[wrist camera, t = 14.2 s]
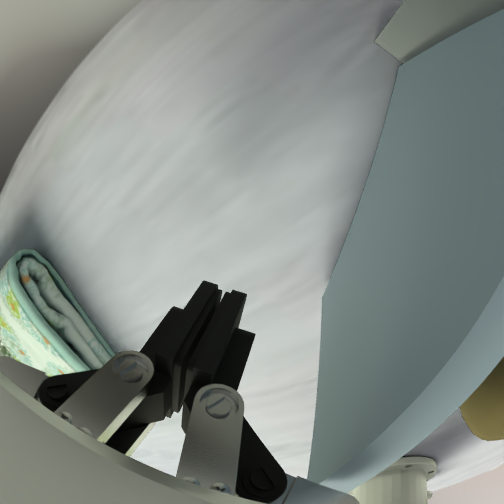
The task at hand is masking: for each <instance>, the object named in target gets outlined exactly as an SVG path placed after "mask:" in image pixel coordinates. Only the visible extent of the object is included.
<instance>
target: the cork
mask: <svg viewBox="0 0 504 504" xmlns="http://www.w3.org/2000/svg"><path fill="white" fill-rule="evenodd" d="M460 409H461V413H462V417H463V419H464V420H465V422H466V424H467V425H468V427H469V429H470V430H471V432H472V433H473V434H474V435H476V436H477V437H479V438H480V439H483V440H487V441H494V440H502V439H504V357H503V358H502V359H501V360H500V362H499V363H498V364H497V365H496V367H495V368H494V369H493V370H492V372H491V373H490V374H489V375H488V376H487V377H486V379H485V380H484V381H483V382H482V383H481V384H480V385H479V387H478V388H477V389H476V390H475V391H474V392H473V393H472V394H471V395H470V396H469V397H468V399H467V400H466V401H465V402H464V403H463V404H462V405H461V406H460Z"/></svg>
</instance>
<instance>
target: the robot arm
mask: <svg viewBox="0 0 504 504" xmlns="http://www.w3.org/2000/svg"><path fill="white" fill-rule="evenodd" d="M221 295H222V290H219V289H218V285H217V284H213V283H210V282H207V281H203V282H202V283H201V285H200V286H199V288H198V289H197V290H196V292H195V293H194V295H193V296H192V298H191V299H190V301H189V302H188V304H187V305H186V307H185V308H184V310H183V309H180V308H177V307H175V306H174V307H172V308H171V309H170V311H169V312H168V313H167V315H166V316H165V317H164V319H163V320H162V321H161V323H160V324H159V326H158V327H157V328H156V330H155V331H154V332H153V334H152V335H151V337H150V338H149V339H148V341H147V342H146V344H145V345H144V346H143V348H142V349H141V351H140V352H137V351H123V352H120V353H117V354H116V355H115V356H113V357H112V358H111V359H110V360H109V361H108V362H107V363H106V364H104V365H103V366H102V367H101V368H99V369H94V370H87V371H81V372H75V373H68V374H61V375H55V376H51V377H50V376H47V374H46V372H43V371H40V370H38V369H36V368H33V367H31V366H28V365H26V364H24V363H21V362H19V361H17V360H15V359H12V358H10V357H7V356H0V504H427V499H430V498H431V497H432V492H431V491H427V484H426V481H428V480H429V479H431V478H432V477H433V476H434V475H435V473H436V471H437V467H436V462H435V461H434V460H433V459H430V458H427V457H403V458H400V459H398V460H397V461H396V462H394V463H393V464H392V465H390V466H389V467H387V468H386V469H385V470H383V471H382V472H380V473H379V474H377V475H376V476H374V477H373V478H371V479H370V480H368V481H366V482H365V483H363V484H362V485H360V486H358V487H357V488H355V489H354V490H352V491H350V492H348V494H347V493H344V492H341V491H338V490H335V489H332V488H329V487H326V486H323V485H320V484H317V483H315V482H312V481H309V480H307V479H304V478H301V477H299V476H297V477H296V478H295V477H293V476H291V475H288V474H286V473H285V472H284V470H283V469H282V467H281V466H280V465H279V464H278V462H277V461H276V460H275V459H274V457H273V456H272V455H271V453H270V452H269V451H268V449H267V448H266V447H265V445H264V444H263V443H262V441H261V440H260V439H259V437H258V436H257V435H256V433H255V432H254V430H253V429H252V428H251V426H250V425H249V423H248V422H247V421H246V419H245V418H244V416H243V415H244V401H243V399H242V397H241V395H240V394H239V393H238V392H237V389H238V386H239V383H240V380H241V377H242V374H243V371H244V368H245V365H246V362H247V359H248V356H249V353H250V350H251V347H252V344H253V341H254V338H255V333H251V332H248V331H245V330H242V329H239V328H238V327H239V323H240V320H241V316H242V312H243V308H244V304H245V301H246V297H247V294H245V293H242V292H238V291H235V290H232V292H231V293H229V292H226V293H225V294H224V296H223V298H222V300H221ZM220 300H221V302H220ZM182 405H183V412H182V425H181V427H182V429H183V431H184V433H185V434H186V436H185V440H184V444H183V449H182V453H181V457H180V461H179V466H178V470H177V475H176V477H174V476H172V475H169V474H167V473H164V472H162V471H159V470H157V469H155V468H152V467H150V466H148V465H145V464H143V463H141V462H139V461H137V460H135V459H133V458H130V456H131V455H132V453H133V452H134V451H135V450H136V448H137V447H138V446H139V445H140V443H141V442H142V441H143V440H144V438H145V437H146V436H147V434H148V433H149V432H150V431H151V429H152V428H153V427H154V425H155V423H156V422H157V421H161V420H164V418H165V417H169V418H171V416H172V414H173V412H174V411H175V412H177V413H179V411H180V409H181V407H182ZM352 495H353V496H352Z"/></svg>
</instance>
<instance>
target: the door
mask: <svg viewBox="0 0 504 504" xmlns="http://www.w3.org/2000/svg"><path fill="white" fill-rule="evenodd" d="M503 357H504V9H502V10H500V11H498V12H496V13H494V14H492V15H490V16H488V17H486V18H484V19H482V20H480V21H478V22H476V23H474V24H472V25H471V26H469V27H467V28H465V29H463V30H461V31H459V32H457V33H456V34H454V35H452V36H450V37H448V38H447V39H445V40H443V41H441V42H440V43H438V44H436V45H434V46H433V47H431V48H429V49H428V50H426V51H424V52H422V53H421V54H419V55H417V56H416V57H414V58H412V59H411V60H409V61H408V62H406V63H404V64H403V65H401V66H399V68H398V73H397V77H396V81H395V85H394V89H393V93H392V97H391V101H390V105H389V109H388V112H387V116H386V120H385V123H384V127H383V130H382V134H381V137H380V141H379V144H378V147H377V150H376V154H375V157H374V160H373V163H372V166H371V170H370V173H369V176H368V179H367V182H366V185H365V188H364V191H363V194H362V197H361V199H360V202H359V205H358V208H357V211H356V214H355V216H354V219H353V222H352V225H351V227H350V230H349V233H348V235H347V238H346V241H345V243H344V246H343V248H342V251H341V253H340V256H339V259H338V261H337V264H336V266H335V269H334V271H333V273H332V276H331V278H330V281H329V283H328V285H327V288H326V290H325V293H324V295H323V297H322V320H321V342H320V360H319V375H318V388H317V400H316V410H315V421H314V430H313V439H312V447H311V455H310V463H309V470H308V477H307V480H309V481H312V482H315V483H317V484H320V485H323V486H326V487H329V488H332V489H335V490H338V491H341V492H344V493H348V492H350V491H352V490H354V489H355V488H357V487H358V486H360V485H362V484H363V483H365V482H366V481H368V480H370V479H371V478H373V477H374V476H376V475H377V474H379V473H380V472H382V471H383V470H385V469H386V468H387V467H389V466H390V465H392V464H393V463H394V462H396V461H397V460H398V459H400V458H401V457H402V456H404V455H405V454H406V453H408V452H409V451H410V450H412V449H413V448H414V447H415V446H417V445H418V444H419V443H420V442H421V441H423V440H424V439H425V438H426V437H427V436H429V435H430V434H431V433H432V432H433V431H434V430H435V429H437V428H438V427H439V426H440V425H441V424H442V423H443V422H444V421H445V420H446V419H447V418H448V417H450V416H451V415H452V414H453V413H454V412H455V411H456V410H457V409H458V408H459V407H460V406H461V405H462V404H463V403H464V402H465V401H466V400H467V399H468V397H469V396H470V395H471V394H472V393H473V392H474V391H475V390H476V389H477V388H478V387H479V385H480V384H481V383H482V382H483V381H484V380H485V379H486V377H487V376H488V375H489V374H490V373H491V372H492V370H493V369H494V368H495V367H496V365H497V364H498V363H499V362H500V360H501V359H502V358H503Z"/></svg>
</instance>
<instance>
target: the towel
mask: <svg viewBox="0 0 504 504" xmlns="http://www.w3.org/2000/svg"><path fill="white" fill-rule="evenodd" d="M0 340H1V341H2V343H3V344H4V346H5V347H6V348H7V349H8V350H9V351H10V353H11V354H12V355H13V357H14V358H15V360H17V361H19V362H21V363H24V364H26V365H28V366H31V367H33V368H36V369H38V370H40V371H43V372H46V374H47V376H50V377H51V376H55V375H61V374H68V373H75V372H81V371H87V370H94V369H99V368H101V367H102V366H103V365H104V364H106V363H107V362H108V361H109V360H110V359H111V358H112V357H113V356H115V355H116V354H115V352H114V351H113V350H112V349H111V347H110V346H109V345H108V343H107V342H106V341H105V339H104V338H103V337H102V335H101V334H100V333H99V331H98V330H97V329H96V327H95V326H94V324H93V323H92V322H91V320H90V319H89V318H88V316H87V315H86V313H85V312H84V310H83V309H82V307H81V306H80V305H79V303H78V302H77V300H76V299H75V297H74V296H73V294H72V293H71V291H70V290H69V288H68V287H67V285H66V284H65V282H64V281H63V279H62V278H61V277H60V275H59V274H58V273H57V272H56V270H55V269H54V268H53V267H52V266H51V264H50V263H49V262H48V261H47V260H45V259H44V258H43V257H42V256H41V255H40V254H38V253H37V252H36V251H34V250H31V249H21V250H19V251H17V252H16V253H15V254H14V255H13V256H12V257H11V258H10V259H9V260H8V262H7V263H6V264H5V265H4V267H3V268H2V269H1V271H0Z"/></svg>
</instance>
